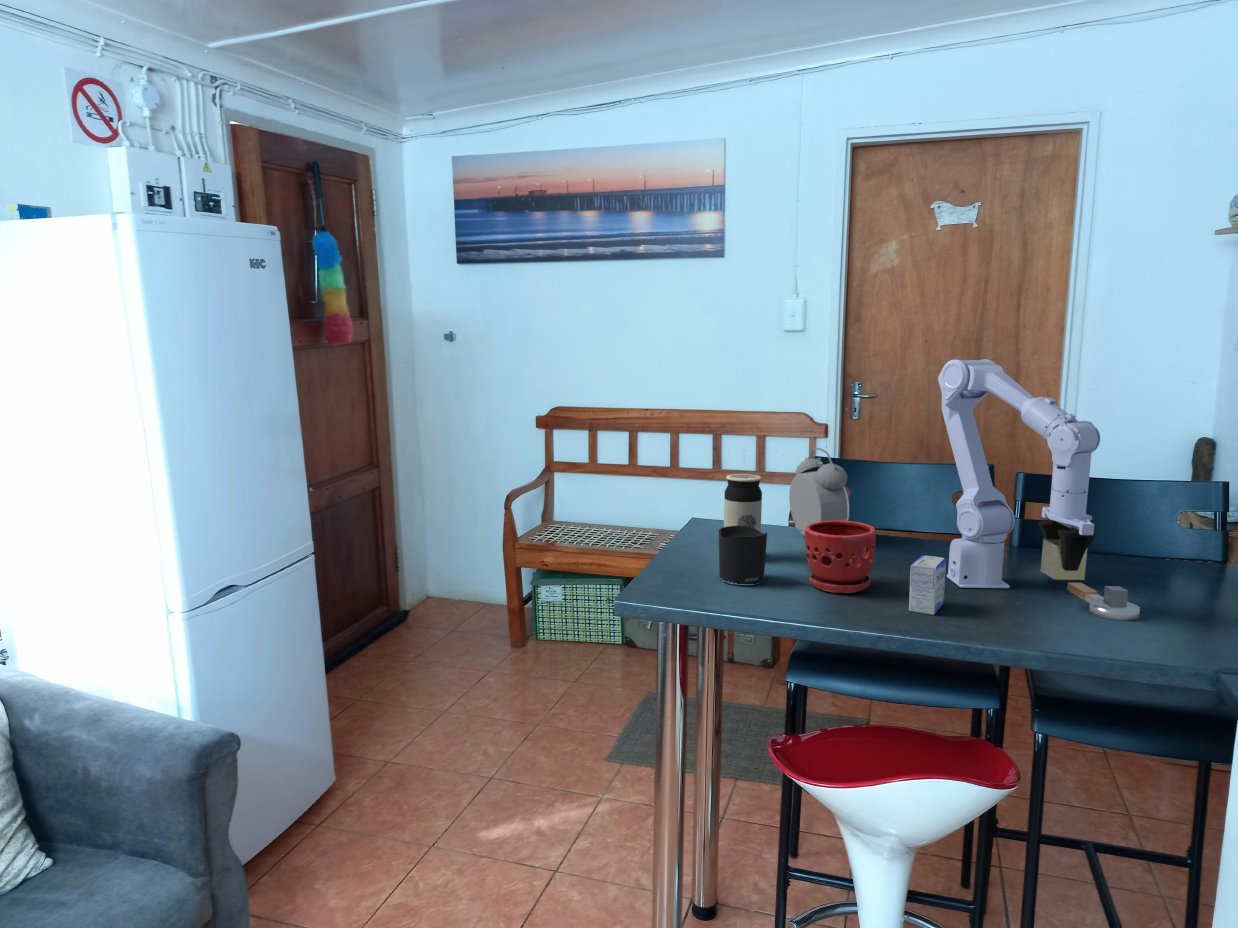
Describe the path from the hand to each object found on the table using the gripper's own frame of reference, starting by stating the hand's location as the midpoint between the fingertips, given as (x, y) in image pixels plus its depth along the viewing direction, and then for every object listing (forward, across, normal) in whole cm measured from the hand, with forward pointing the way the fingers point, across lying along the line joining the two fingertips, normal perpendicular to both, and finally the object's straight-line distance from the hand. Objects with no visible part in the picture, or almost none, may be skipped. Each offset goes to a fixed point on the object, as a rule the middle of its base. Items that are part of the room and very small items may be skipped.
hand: (1062, 565), depth 152 cm
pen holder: (+8, +15, +55) cm, 58 cm away
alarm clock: (+8, +50, +33) cm, 60 cm away
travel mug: (+8, +32, +53) cm, 62 cm away
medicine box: (+8, -1, +24) cm, 25 cm away
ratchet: (+8, +2, -8) cm, 11 cm away
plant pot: (+8, +11, +37) cm, 39 cm away
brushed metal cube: (+2, 0, 0) cm, 2 cm away
